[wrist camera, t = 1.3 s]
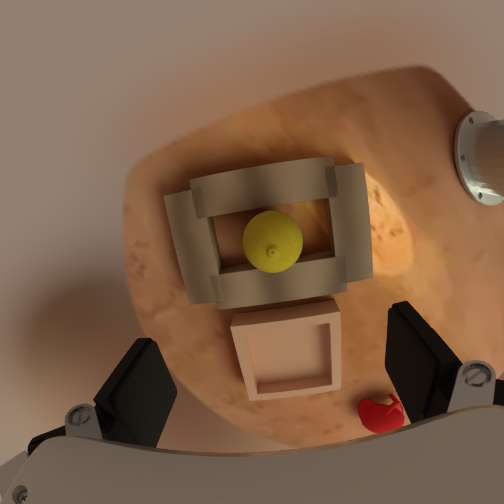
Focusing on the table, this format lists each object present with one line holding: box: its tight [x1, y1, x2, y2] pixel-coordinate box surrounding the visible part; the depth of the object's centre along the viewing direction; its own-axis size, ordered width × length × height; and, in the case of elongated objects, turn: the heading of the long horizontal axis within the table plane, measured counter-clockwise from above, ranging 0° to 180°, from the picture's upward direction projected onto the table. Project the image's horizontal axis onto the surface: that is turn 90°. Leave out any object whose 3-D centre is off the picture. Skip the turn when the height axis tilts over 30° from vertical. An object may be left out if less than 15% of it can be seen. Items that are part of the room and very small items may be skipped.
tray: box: [230, 299, 341, 401], centre depth 32 cm, size 12×12×3 cm
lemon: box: [242, 210, 303, 273], centre depth 26 cm, size 6×6×8 cm
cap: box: [358, 395, 404, 434], centre depth 33 cm, size 8×6×6 cm
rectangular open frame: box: [163, 156, 373, 310], centre depth 28 cm, size 20×14×2 cm
